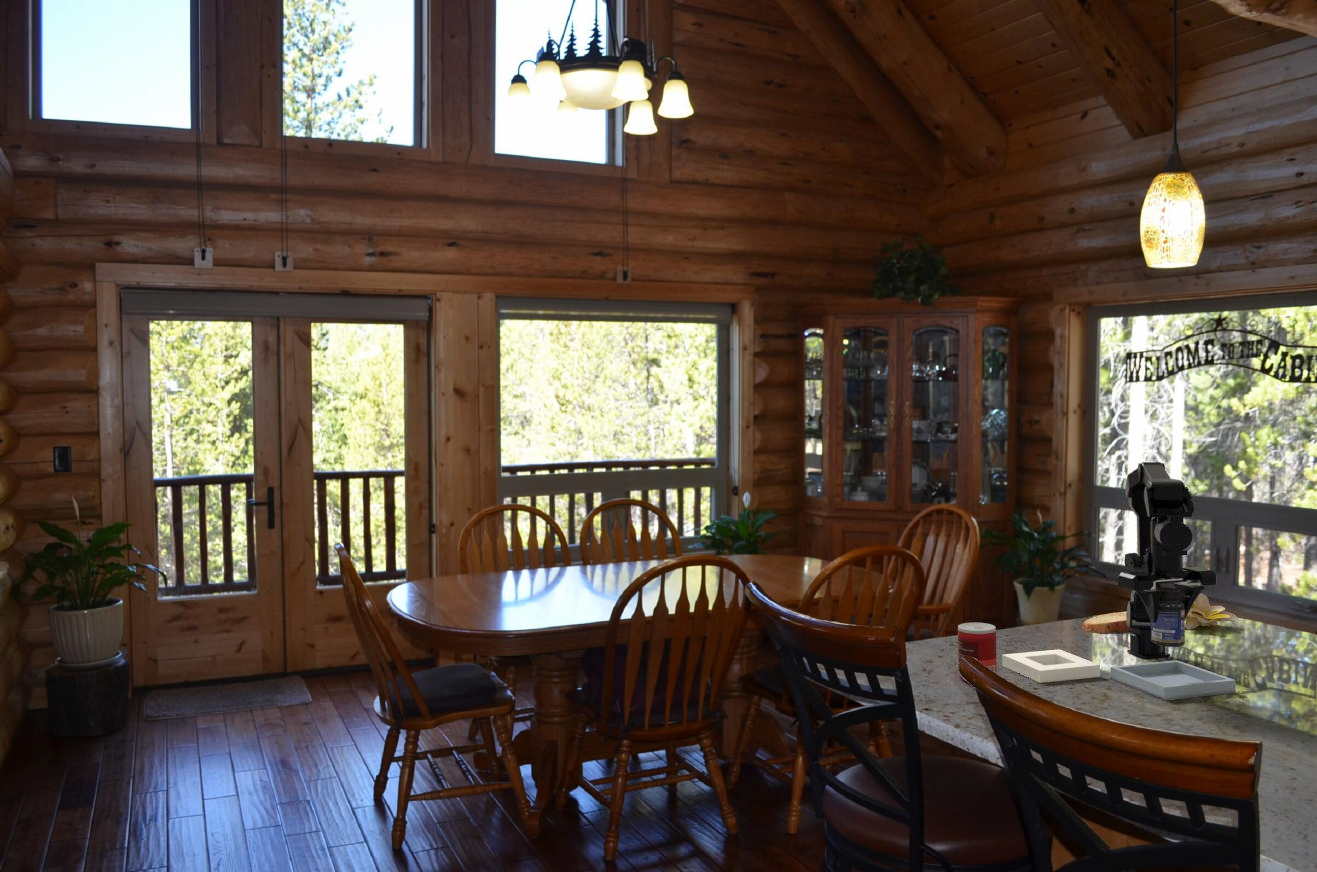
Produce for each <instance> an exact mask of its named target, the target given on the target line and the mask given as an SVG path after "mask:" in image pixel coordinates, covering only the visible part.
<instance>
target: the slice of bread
mask: <svg viewBox="0 0 1317 872" xmlns="http://www.w3.org/2000/svg"><path fill="white" fill-rule="evenodd" d="M1126 613H1127V611H1121V612H1110V613H1106V614H1100V615H1097V616H1095V617H1091V618H1089V619H1085V621H1084V622H1083V623H1082V630H1083V631H1084V632H1086V633H1089V634H1090V633H1092V634H1110V633H1111V634H1113V633H1123V632H1132V629H1130V628H1129V627H1128V625H1127V621H1126ZM1096 617H1099V618H1096ZM1132 621H1135V620H1132Z"/></svg>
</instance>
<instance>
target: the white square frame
mask: <svg viewBox="0 0 1317 872" xmlns="http://www.w3.org/2000/svg"><path fill="white" fill-rule="evenodd" d="M1001 658H1002V659H1001V660H1002V661H1001V662H1002V667H1004V668H1006V669H1008V670H1010V671H1012V672H1014V673H1017V674H1019V673H1020V675H1021V676H1023V675H1024V677H1026V678H1028V677H1029V678H1028V679H1030V678H1031V680H1032V681H1034V682H1036V683H1040V684H1042V683H1043V684H1044V683H1052V682H1061V681H1072V680H1080V679H1092V678H1100V677H1101V664H1098V663H1096V662H1093V661H1091V660H1088V659H1085V658H1083V657H1080V656H1078V655H1075V654H1073V653H1070V652H1067V651H1065V650H1062V649H1051V650H1050V649H1047V650H1038V651H1027V652H1014V653H1006V654H1002V655H1001Z"/></svg>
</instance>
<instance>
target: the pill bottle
mask: <svg viewBox="0 0 1317 872" xmlns="http://www.w3.org/2000/svg"><path fill="white" fill-rule="evenodd" d="M1156 590H1159V591H1161V594H1160V601H1159V609H1158V617H1157V621H1156V623H1152V622H1151V641H1152V643H1154V644H1156V645H1160V646H1165V648H1166V647H1169V648H1179V647H1182V646H1184V645H1185V641H1186V637H1185V635H1186V633H1185V631H1186V627H1185V623H1186V621H1185V607H1184V604H1183V603H1182V602H1181V601H1179V597H1180V596H1181V591H1180V590H1179V589H1176V588H1174V587H1167V586H1166V587H1165V586H1164V587H1162V586H1161V588H1156Z"/></svg>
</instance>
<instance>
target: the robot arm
mask: <svg viewBox="0 0 1317 872" xmlns="http://www.w3.org/2000/svg"><path fill="white" fill-rule="evenodd" d="M1124 488H1125V489H1124V490H1125V491H1124V493H1125V498H1126V499H1128V505H1129V506H1128V507H1130V509H1131V511H1132V512H1133V513H1134V514H1135V517H1136V537H1137V539H1136V540H1137V542H1136V545H1137V548H1136V549H1137V552H1130V553H1129V552H1128V553H1126V554H1124V561H1123V562H1124V563H1123V564H1124V567H1125V569H1126V570H1128V571H1122V572H1120V574H1119V575H1118V576H1117V586H1118V587H1122V588H1124V589H1128V590H1131V593H1130V600H1129V601H1128V602H1127V608H1126V612H1127V613H1126V621H1127V625H1128V627H1129V628H1130V629H1132V631H1131V633H1130V634H1129V640H1130V641H1129V642H1130V644H1129V646H1130V648H1129V649H1127V650H1126V652H1127V653H1129V654H1131V655H1134V656H1137V657H1140V658H1142V659H1154V658H1155V659H1156V658H1163V657H1164V658H1165V657H1170V656H1171V653H1169V652H1166V646H1160V645H1156V644H1154V643H1152V641H1151V622H1152V623H1156V621H1157V617H1158V609H1159V601H1160V594H1161V591H1159V590H1156V588H1161V587H1162V585H1163V584H1172V585H1173V586H1174V587H1175V588H1176V589H1179V590H1180V591H1181V596H1180V597H1179V601H1181V602H1182V603H1183V604H1184V607H1185V618H1186V616H1187V614H1188V612H1189V610H1190V609H1191V607H1192V605H1193V603H1194V601H1195V600H1196V598H1197V597H1198V595H1199V594H1201V592H1203V590H1206V586H1216V585H1218V582H1217V580H1218V579H1217V576H1218V575H1217V574H1216V572H1215V570H1213V569H1209V568H1205V567H1200V566H1189V567H1184V556H1188V549H1187V548H1189V546H1190V545H1191V544H1192V542H1193V533H1192V530H1191V529H1190V527H1189V526H1188V525H1187V524H1186V523H1185V522H1184V518H1193V513H1194V510H1195V508H1194V501H1193V498H1192V492H1190V489H1189V487H1188V486H1186V485H1185V482H1183V481H1182V480H1180V479H1175V478H1171V476H1170V475H1169V474H1168V472H1167V471H1166V466H1165V463H1164V462H1160V461H1142V462H1141V463H1138V464H1137V468H1136V469H1134V470H1133V471H1131V472H1130V473H1128V474H1127V476H1126V481H1125V487H1124ZM1129 570H1130V571H1129ZM1131 570H1132V571H1131ZM1161 584H1162V585H1161ZM1201 584H1202V585H1201ZM1132 620H1135V621H1132Z"/></svg>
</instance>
